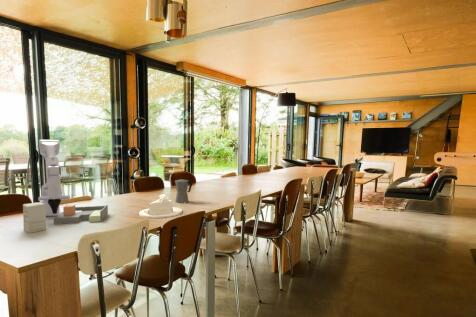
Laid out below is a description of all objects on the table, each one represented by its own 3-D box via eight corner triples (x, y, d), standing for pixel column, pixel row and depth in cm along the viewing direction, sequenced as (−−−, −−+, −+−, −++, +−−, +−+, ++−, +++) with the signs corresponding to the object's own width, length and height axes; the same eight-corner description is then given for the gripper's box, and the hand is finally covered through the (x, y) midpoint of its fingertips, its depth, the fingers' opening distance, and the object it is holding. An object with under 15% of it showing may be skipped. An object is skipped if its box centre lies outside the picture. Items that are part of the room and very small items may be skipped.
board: (53, 224, 147) (53, 213, 147) (64, 216, 162) (64, 206, 162) (102, 221, 153) (101, 211, 152) (107, 214, 168) (107, 204, 168)
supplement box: (41, 226, 142) (40, 201, 141) (46, 229, 137) (45, 203, 137) (23, 230, 136) (22, 204, 136) (28, 233, 132) (27, 206, 131)
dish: (161, 207, 189) (161, 190, 188) (190, 211, 176) (190, 193, 175) (129, 215, 167) (129, 195, 167) (160, 221, 155) (160, 200, 154)
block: (63, 215, 153) (63, 206, 153) (66, 213, 157) (66, 205, 157) (72, 214, 154) (72, 206, 154) (75, 212, 158) (75, 204, 158)
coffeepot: (170, 202, 203) (170, 176, 202) (179, 199, 211) (178, 175, 210) (187, 204, 196) (187, 178, 195) (196, 201, 204) (195, 176, 203)
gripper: (35, 189, 147) (36, 215, 148) (66, 188, 151) (67, 214, 152) (41, 187, 154) (42, 212, 155) (71, 186, 158) (71, 211, 159)
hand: (55, 213), depth 154 cm, fingers closed
